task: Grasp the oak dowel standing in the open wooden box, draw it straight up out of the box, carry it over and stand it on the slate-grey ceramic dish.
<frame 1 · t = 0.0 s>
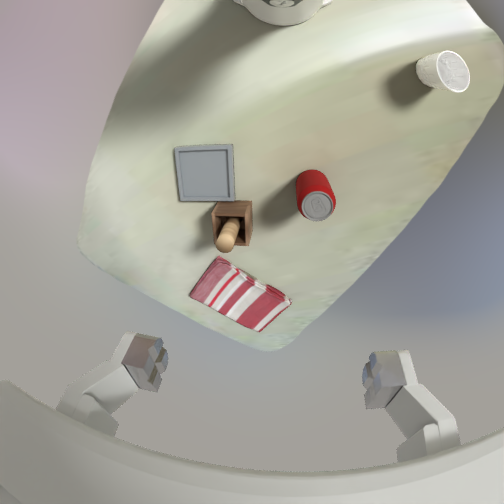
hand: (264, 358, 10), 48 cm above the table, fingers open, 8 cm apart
dish: (206, 172, 55), on the table
beverage can: (311, 183, 54), on the table
dowel: (235, 216, 60), point 1 cm above the table, touching open wooden box
dish towel: (240, 295, 74), on the table
white cup: (428, 72, 36), on the table
open wooden box: (235, 215, 60), on the table
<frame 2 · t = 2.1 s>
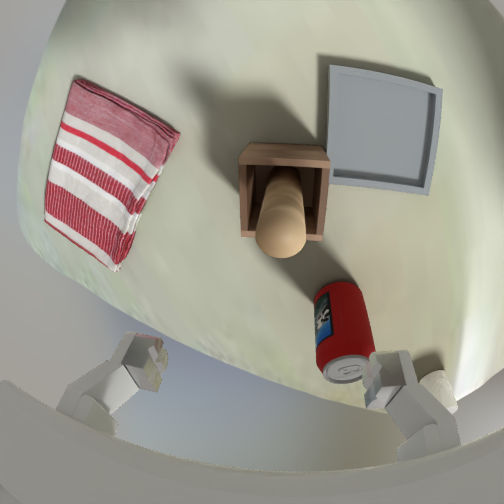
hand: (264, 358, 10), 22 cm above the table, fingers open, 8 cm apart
dish: (383, 130, 23), on the table
beverage can: (337, 296, 36), on the table
dowel: (284, 178, 27), point 1 cm above the table, touching open wooden box
dish towel: (98, 179, 31), on the table
white cup: (431, 377, 45), on the table
open wooden box: (284, 176, 28), on the table
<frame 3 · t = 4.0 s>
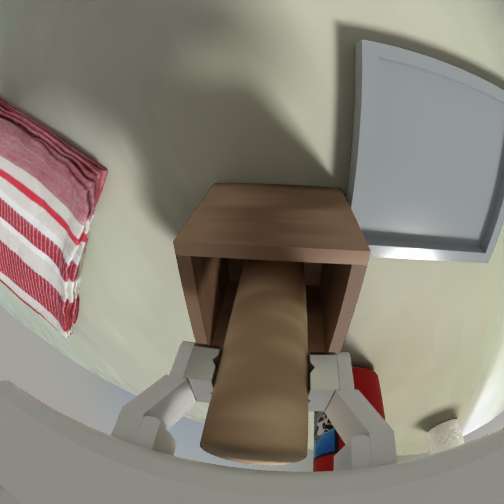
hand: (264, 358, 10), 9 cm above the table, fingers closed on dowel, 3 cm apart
dish: (441, 163, 13), on the table
beverage can: (345, 377, 25), on the table
dowel: (275, 244, 16), point 1 cm above the table, touching open wooden box, gripper
dish towel: (29, 228, 20), on the table
white cup: (442, 425, 35), on the table
open wooden box: (276, 239, 17), on the table
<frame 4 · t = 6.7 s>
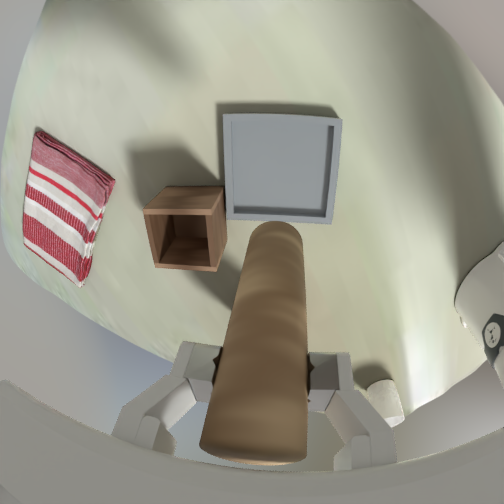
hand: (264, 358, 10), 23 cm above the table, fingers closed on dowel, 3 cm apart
dish: (281, 167, 29), on the table
dowel: (275, 244, 16), point 15 cm above the table, touching gripper
dish towel: (61, 212, 36), on the table
white cup: (380, 385, 52), on the table
open wooden box: (196, 213, 33), on the table
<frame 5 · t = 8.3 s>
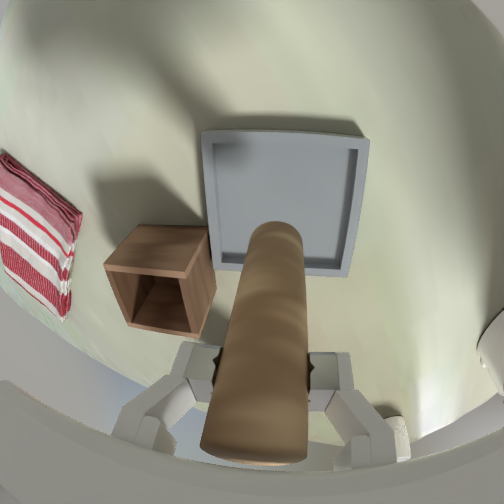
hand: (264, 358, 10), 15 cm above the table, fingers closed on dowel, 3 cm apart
dish: (283, 203, 22), on the table
dowel: (276, 245, 16), point 6 cm above the table, touching gripper
dish towel: (36, 243, 30), on the table
white cup: (388, 421, 44), on the table
open wooden box: (177, 257, 26), on the table
when the fingers open (10 cm above the table, at t = 9.4 s): dowel stays where it is, resting on dish.
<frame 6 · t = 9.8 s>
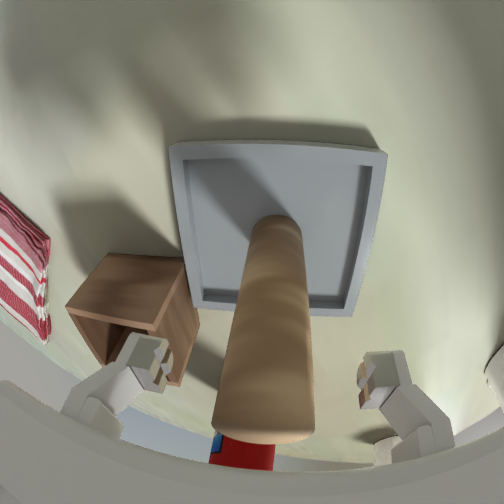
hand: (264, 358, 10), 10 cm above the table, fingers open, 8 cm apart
dish: (276, 232, 18), on the table
beverage can: (251, 392, 30), on the table
dowel: (276, 237, 17), point 1 cm above the table, touching dish
dish towel: (11, 264, 25), on the table
white cup: (389, 439, 40), on the table
open wooden box: (154, 290, 22), on the table
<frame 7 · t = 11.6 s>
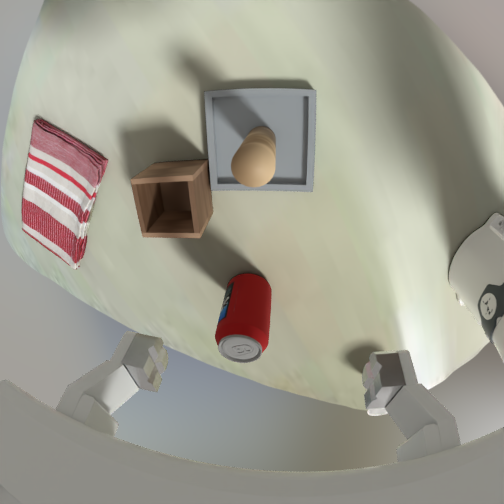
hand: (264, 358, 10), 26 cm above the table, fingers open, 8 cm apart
dish: (261, 138, 30), on the table
beverage can: (249, 286, 42), on the table
dowel: (261, 139, 29), point 1 cm above the table, touching dish
dish towel: (58, 196, 37), on the table
white cup: (377, 369, 52), on the table
open wooden box: (183, 187, 34), on the table
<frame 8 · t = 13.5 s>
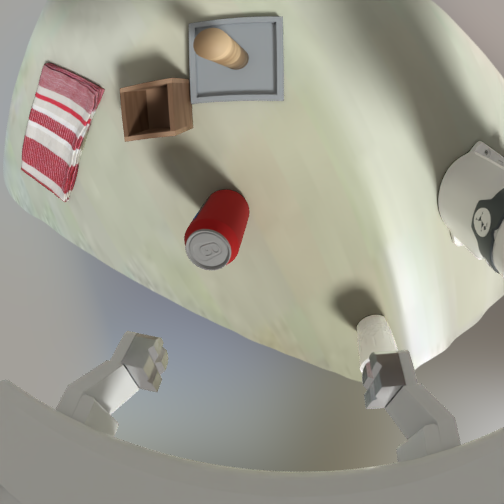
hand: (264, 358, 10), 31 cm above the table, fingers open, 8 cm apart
dish: (236, 59, 29), on the table
beverage can: (228, 207, 41), on the table
dowel: (236, 58, 28), point 1 cm above the table, touching dish
dish towel: (57, 131, 36), on the table
white cup: (371, 324, 51), on the table
open wooden box: (167, 106, 33), on the table
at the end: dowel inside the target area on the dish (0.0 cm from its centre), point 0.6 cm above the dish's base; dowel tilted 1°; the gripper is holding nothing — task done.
